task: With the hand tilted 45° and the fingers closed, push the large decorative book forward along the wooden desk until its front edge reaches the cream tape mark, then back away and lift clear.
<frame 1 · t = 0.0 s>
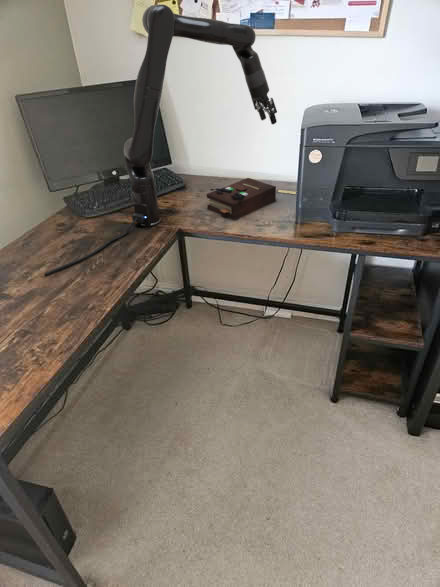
hand: (269, 121, 166), 31 cm above the table, tool tilted 20°, fingers open, 8 cm apart
tape mark: (287, 192, 185), on the table
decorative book: (241, 205, 176), on the table
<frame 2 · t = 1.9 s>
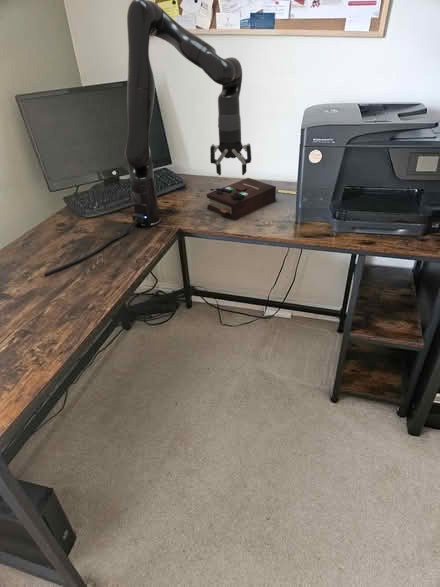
hand: (231, 174, 143), 22 cm above the table, tool pointing down, fingers open, 8 cm apart
nothing on the table moved.
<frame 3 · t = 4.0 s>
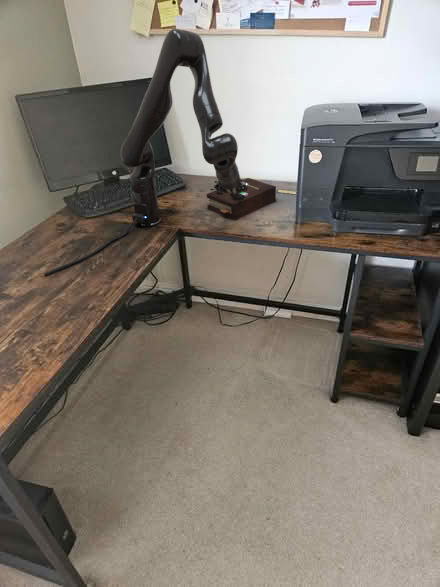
hand: (234, 194, 152), 13 cm above the table, tool tilted 45°, fingers closed
nothing on the table moved.
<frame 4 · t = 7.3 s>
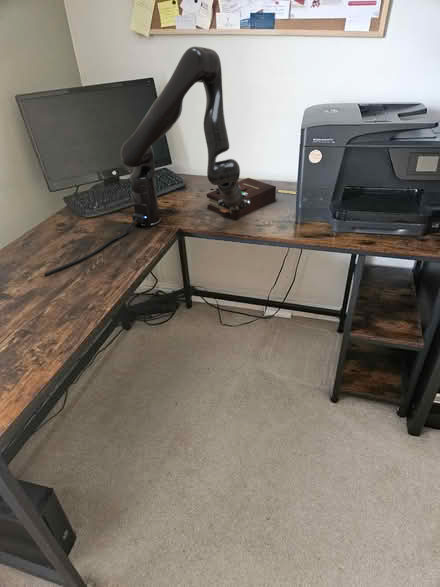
hand: (237, 210, 161), 4 cm above the table, tool tilted 45°, fingers closed
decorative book: (241, 205, 176), on the table, touching gripper
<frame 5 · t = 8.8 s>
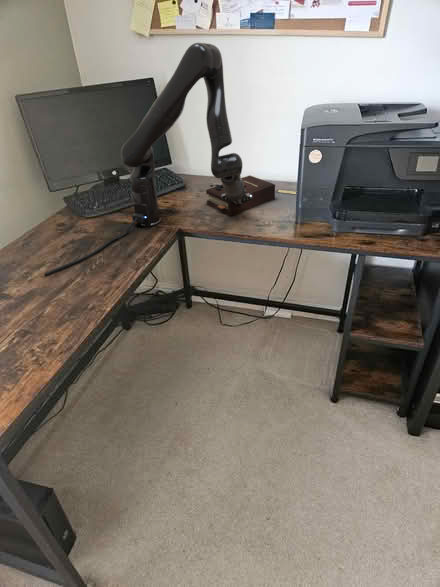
hand: (239, 204, 166), 4 cm above the table, tool tilted 45°, fingers closed
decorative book: (241, 202, 179), on the table, touching gripper
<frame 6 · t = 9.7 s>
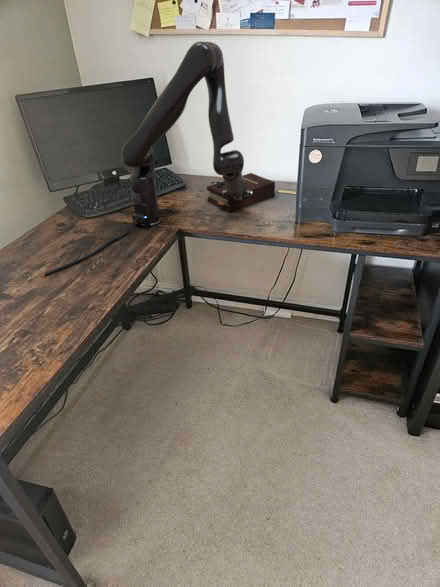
hand: (240, 201, 169), 4 cm above the table, tool tilted 45°, fingers closed
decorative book: (241, 199, 181), on the table, touching gripper
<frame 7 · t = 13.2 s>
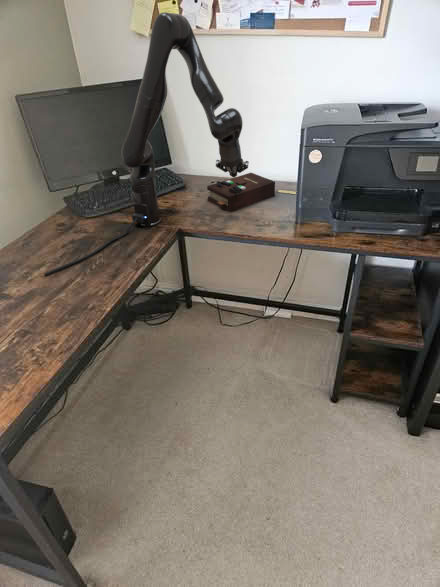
hand: (233, 175, 159), 17 cm above the table, tool tilted 45°, fingers closed
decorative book: (241, 198, 182), on the table
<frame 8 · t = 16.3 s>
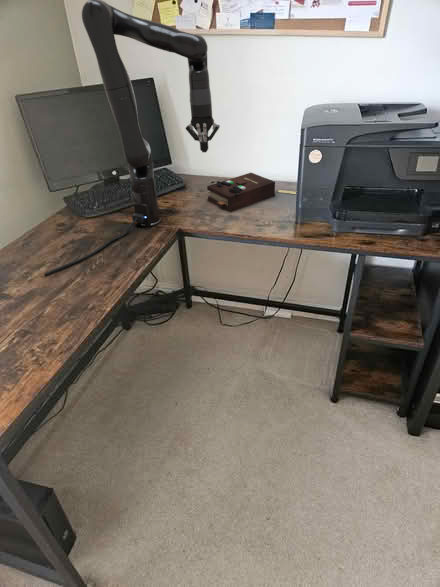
hand: (204, 151, 151), 27 cm above the table, tool pointing down, fingers closed
nothing on the table moved.
at the end: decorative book inside the target area (5.0 cm from its centre), on the table; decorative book moved 7.5 cm from its start; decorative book tilted 0° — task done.
